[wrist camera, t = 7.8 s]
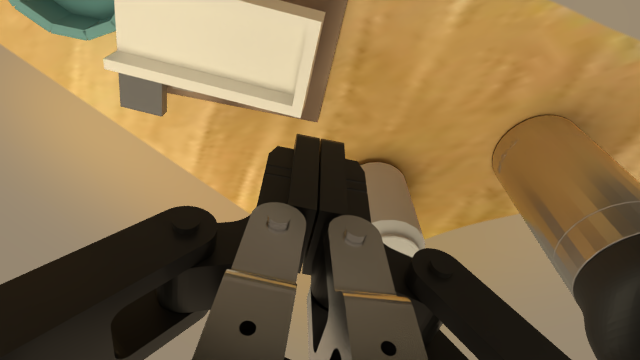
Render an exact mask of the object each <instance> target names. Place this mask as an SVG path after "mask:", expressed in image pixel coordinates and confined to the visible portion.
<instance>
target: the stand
mask: <svg viewBox="0 0 640 360" xmlns="http://www.w3.org/2000/svg"><path fill="white" fill-rule="evenodd" d="M281 1H285V2H289V3H292V4H296V5H300V6H304V7H307V8H311V9H315V10H319V11H323V12H326V13H325V17H324V22H323V26H322V31H321V35H320V40H319V44H318V49H317V53H316V58H315V62H314V67H313V71H312V76H311V80H310V85H309V89H308V94H307V98H306V103H305V106H304V109H303V112H302V115H301V118H298V119H303V120H308V121H313V122H318V118H319V114H320V110H321V106H322V102H323V98H324V94H325V90H326V86H327V82H328V78H329V74H330V70H331V65H332V61H333V57H334V53H335V49H336V45H337V41H338V37H339V33H340V29H341V25H342V21H343V17H344V13H345V9H346V5H347V1H348V0H281ZM167 93H171V94H176V95H181V96H187V97H192V98H197V99H202V100H207V101H212V102H217V103H222V104H227V105H232V106H237V107H242V108H247V109H252V110H257V111H262V112H267V113H273V114H278V115H283V116H288V117H293V116H289V115H285V114H281V113H277V112H273V111H269V110H265V109H261V108H257V107H253V106H249V105H246V104H242V103H238V102H234V101H230V100H226V99H222V98H218V97H214V96H210V95H206V94H202V93H198V92H194V91H190V90H186V89H182V88H178V87H174V86H170V85H167ZM293 118H297V117H293Z"/></svg>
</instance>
